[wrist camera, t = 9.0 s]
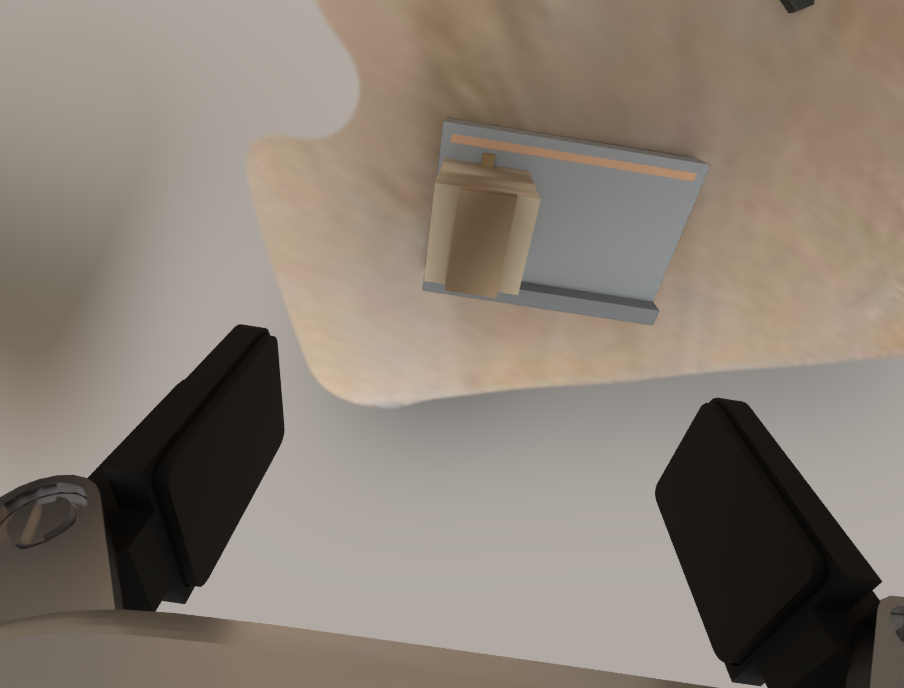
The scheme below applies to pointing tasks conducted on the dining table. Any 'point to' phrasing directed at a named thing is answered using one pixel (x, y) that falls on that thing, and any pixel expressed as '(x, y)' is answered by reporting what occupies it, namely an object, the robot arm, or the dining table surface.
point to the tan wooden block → (480, 227)
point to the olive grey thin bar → (796, 4)
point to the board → (588, 218)
